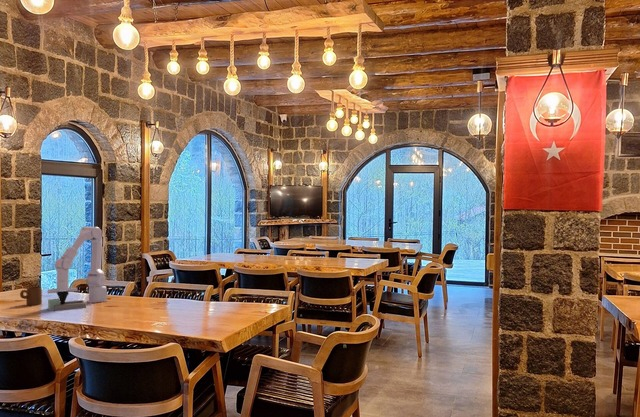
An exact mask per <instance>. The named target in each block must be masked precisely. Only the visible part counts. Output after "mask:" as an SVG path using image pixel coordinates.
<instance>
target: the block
mask: <svg viewBox="0 0 640 417" xmlns="http://www.w3.org/2000/svg"><path fill="white" fill-rule="evenodd" d="M47 303H48V304H47V306H48V308H47V309H48V310H49V311H54V310H53V309H54V305H60V299H59V298H50V299H47Z"/></svg>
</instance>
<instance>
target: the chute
mask: <svg viewBox="0 0 640 417" xmlns="http://www.w3.org/2000/svg"><path fill="white" fill-rule="evenodd" d="M76 308H77V309H85V308H87V303H86V302H85V301H84V300H83V299H82V300H81V299H80V300H70V301H65V303H64V304H63V305H61V303H60V305H54V310H53V311H64V310H75V309H76ZM77 309H76V310H77Z"/></svg>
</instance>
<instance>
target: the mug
mask: <svg viewBox="0 0 640 417" xmlns="http://www.w3.org/2000/svg"><path fill="white" fill-rule="evenodd" d="M42 288H43V287H41V286H32V287H31V286H29V287H27V288H26V289H22V290H21V291H20V293H19V295H20V298H21V299H23V300H25V301H26V302H25V303H26V306H39V305H40V306H41V304H42V302H43V300H42V298H43V297H42V296H43V291H42ZM24 293H25V294H26V295H25V294H24Z"/></svg>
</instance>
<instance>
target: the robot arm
mask: <svg viewBox="0 0 640 417" xmlns="http://www.w3.org/2000/svg"><path fill="white" fill-rule="evenodd" d="M102 233H103V232H102V229H100V227H98V226H82V227H81V230H80V231H79V235H78V236H77V238H76V240H75V241H74V243H73V244H72V246H71V247H70V246H69V247H67V248H66V249H65V252H63V254H62V255H61V257H60V258H58V259H57V260H56V261H55V263H54V268H55V269H56V288H51V289H50V288H48V289H47V294H54V293H55V294H56V295H57V297H58V299H59V300H60V303H61V305H63V304H64V303H65V302H66V300H67V297H68V296H69V292H72V293H73V292H78V287H77V286H76V287H69V285H70V284H69V280H70V279H69V274H70V273H69V272H70V268H71V267H72V264H73V260H74V259H76V256H77V255H78V253H79V252H78V250H79V249H80V247H81V246H82V245H83V244H84V243H85V242H86V241H90V242H91V259H90V269H89V270H88V271H87V275H86V278H85V283H86V284H87V286H88V299H87V300H86V301H87V302H88V303H90V304H92V303H101V302H102V303H104V302H105V303H106V302H108V300H107V296H108V295H107V293H108V292H107V291H108V290H107V286H106V285H104V284H105V283H106V277H105V272H104V271H103V270H102V256H103V252H102V251H103V237H102Z"/></svg>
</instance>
